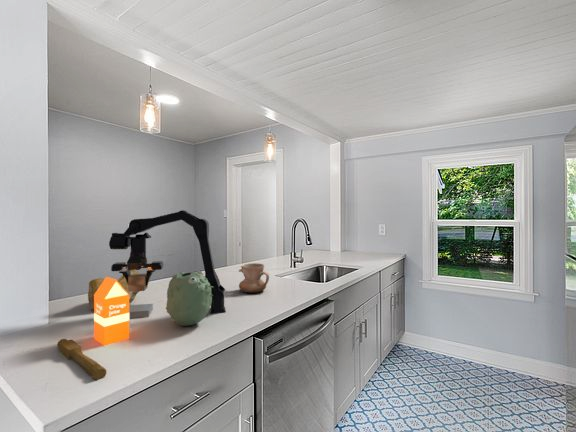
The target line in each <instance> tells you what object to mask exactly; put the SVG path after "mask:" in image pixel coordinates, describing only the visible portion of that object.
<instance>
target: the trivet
mask: <svg viewBox="0 0 576 432" xmlns="http://www.w3.org/2000/svg"><path fill="white" fill-rule="evenodd" d="M153 310H154V304H153V303H143V304H129V319H138V318H140V319H141V318H149V317H150V315H151V313H152V311H153Z"/></svg>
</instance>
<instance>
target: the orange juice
mask: <svg viewBox="0 0 576 432" xmlns="http://www.w3.org/2000/svg"><path fill="white" fill-rule="evenodd" d="M104 279H105V280H104V281H103V283H102V284H101V286H100V287H99V288H98V290H97V291H96V293H95V294H94V309H93V323H94V324H93V333H94V335H93V336H94V337H93V338H94V340H96V341H97V342H99V344H101V345H102V346H104V347H106V346H109V345H111V344H115V343H118V342H122V341H125V340H129V339H130V318H129V305H130V303H129V294H128V293H127V292H126V291H125V290H124V289H123V287H122V286H121V285H120V284H119V283H118V281H117V279H116V278H111V277H109V276H106V277H105V278H104Z"/></svg>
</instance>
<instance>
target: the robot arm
mask: <svg viewBox="0 0 576 432" xmlns="http://www.w3.org/2000/svg"><path fill="white" fill-rule="evenodd" d="M179 221H183V222H184V223H186V224H187V225H189V226H190V227H192V229H193V231H194V235H195V236H196V238H197V240H198V243H199V248H200V253H201V259H202V264H203V268H204V276H205V277H206V278H207V280H208V282H209V283H210V286H213V288H211V294H212V295H213V296H212V303H211V306H210V309H209V314H217V313H226V307H225V295H224V294H225V292H226V288H224V287H223V285H222V284H221V282H220V278H219V276H218V274H217V272H216V270H215V266H214V261H213V256H212V255H213V254H212V249H211V245H210V240H209V237H210V224H209V221H208V220H207V219H206V218H199V217H197V216H195V215H193V214H191V213H190V212H189V211H187V210H183V209H181V210H179V211H176V212H172V213H167V214H164V215H160V216H155V217H148V218H136V219H135V218H134V219H132V220H130V222H129V223H128V227H127V229H126V230H125V231H124V232H121V233H119V232H112V233H111V237H110V239H109V242H108V246H109V249H111V250H128V248H130V252H129V253H130V254H129V258H128V259H127V261H124V262H123V261H121V262H118V261H117V262H115V263H113V264H112V265H111V268H110V269H111V272H118V273H119V274H122V276H123V275H124V277H125V279H126V281H127V284H128V277H129V276H130V275H131V272H130V270H136V271H139V270H141V269H147V270H146V273H147V276H146V287H147V285H149V283H150V279H151V277H152V274H153V273H155V271H160V270H162V269H163V268H164V261H162V260H157V261H156V260H155V261H152V262H151V263H148V258H147V239H151V238H152V236H151V235H150V234H149V233H148V232H147V231H149V230H151V229H154V228H155V227H159V226H162V225H167V224H170V223H171V224H172V223H174V222H179ZM141 233H142V234H141ZM134 235H135V236H134ZM147 288H148V287H147Z"/></svg>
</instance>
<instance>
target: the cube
mask: <svg viewBox="0 0 576 432" xmlns="http://www.w3.org/2000/svg"><path fill="white" fill-rule="evenodd" d="M146 276H147V272H146V273H139V274H131V275H130V276H129V277H128V292H131V291H139V292H144V291H147V289H148V285H149V284H148V285H147V287H146Z"/></svg>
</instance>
